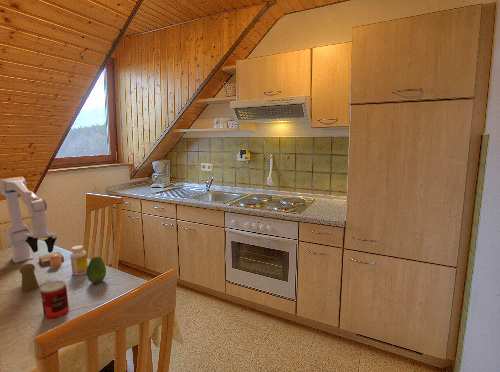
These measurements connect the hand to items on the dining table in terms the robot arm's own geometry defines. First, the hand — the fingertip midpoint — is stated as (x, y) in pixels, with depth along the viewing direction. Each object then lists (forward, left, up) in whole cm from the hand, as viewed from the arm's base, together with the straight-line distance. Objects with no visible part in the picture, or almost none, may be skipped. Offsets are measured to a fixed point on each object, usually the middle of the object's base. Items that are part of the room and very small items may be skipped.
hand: (43, 251), depth 142 cm
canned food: (+44, -6, -10) cm, 45 cm away
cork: (+16, -9, -10) cm, 20 cm away
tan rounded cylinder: (-2, +5, -10) cm, 11 cm away
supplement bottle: (+15, +11, -10) cm, 21 cm away
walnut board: (-11, +5, -10) cm, 15 cm away
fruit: (+31, +13, -10) cm, 35 cm away
